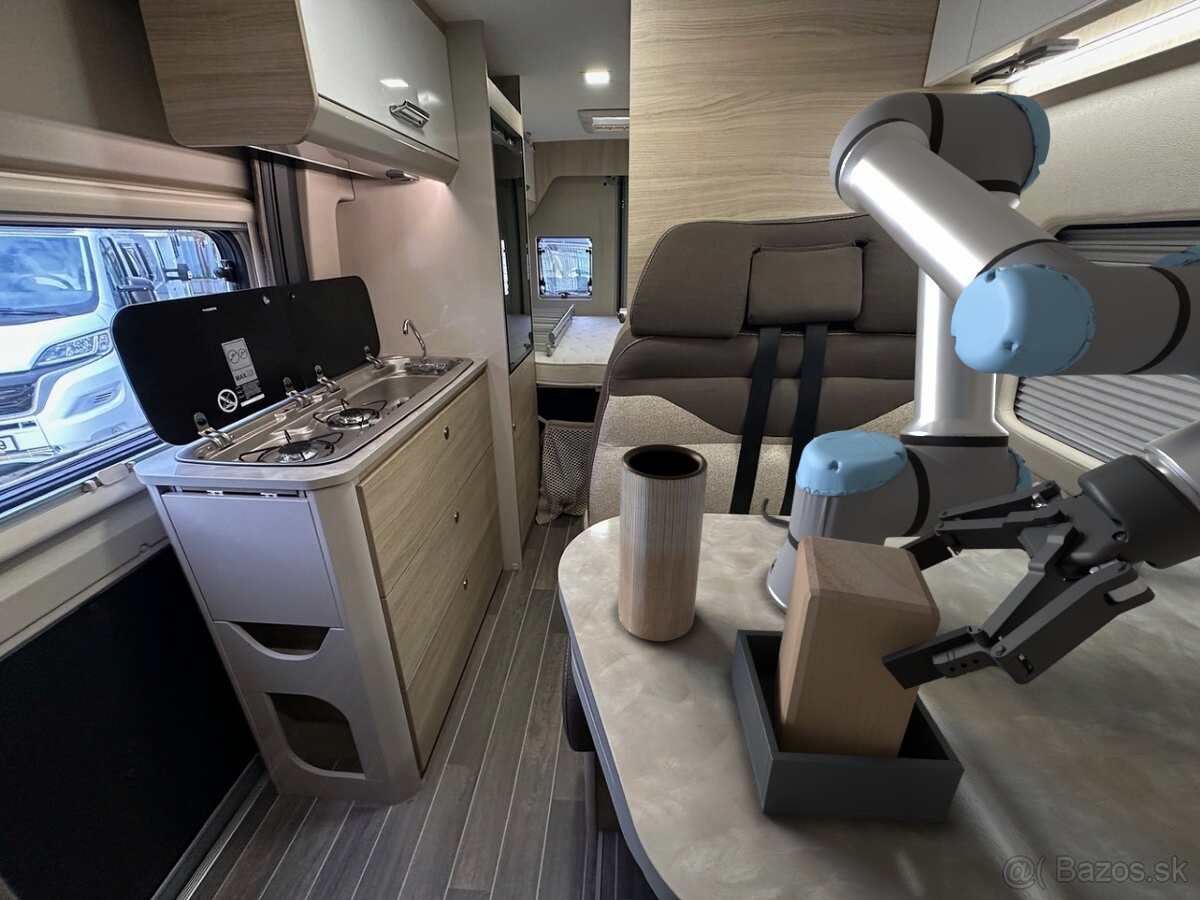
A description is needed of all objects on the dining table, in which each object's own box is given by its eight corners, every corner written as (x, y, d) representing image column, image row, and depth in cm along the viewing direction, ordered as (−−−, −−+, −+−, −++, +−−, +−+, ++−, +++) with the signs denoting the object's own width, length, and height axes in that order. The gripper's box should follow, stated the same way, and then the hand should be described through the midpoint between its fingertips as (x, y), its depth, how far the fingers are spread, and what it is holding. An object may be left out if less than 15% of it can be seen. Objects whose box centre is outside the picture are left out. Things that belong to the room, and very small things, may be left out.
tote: (730, 675, 61) (737, 629, 58) (869, 681, 60) (881, 634, 58) (762, 813, 47) (772, 760, 44) (944, 823, 46) (965, 769, 43)
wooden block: (870, 706, 56) (914, 545, 49) (890, 795, 48) (948, 617, 40) (772, 685, 59) (799, 529, 51) (773, 766, 50) (807, 593, 42)
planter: (607, 601, 73) (608, 449, 64) (672, 585, 76) (682, 439, 68) (636, 651, 65) (642, 484, 56) (708, 631, 68) (724, 470, 59)
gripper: (1378, 668, 25) (937, 774, 36) (1123, 466, 47) (895, 570, 57) (1282, 550, 25) (867, 693, 36) (1070, 401, 46) (851, 518, 57)
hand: (884, 617), depth 47 cm, fingers open, 13 cm apart
